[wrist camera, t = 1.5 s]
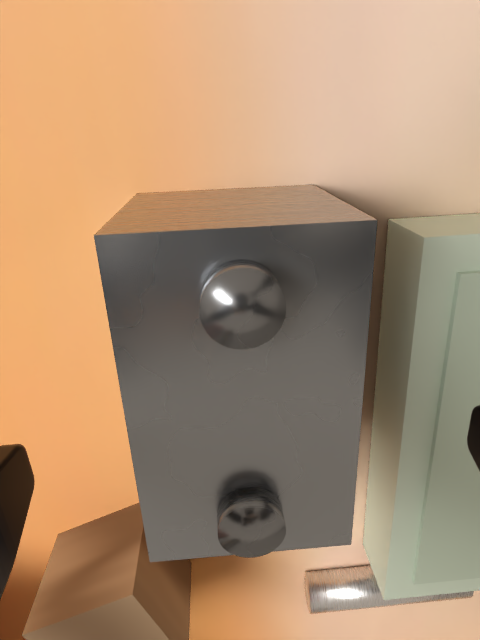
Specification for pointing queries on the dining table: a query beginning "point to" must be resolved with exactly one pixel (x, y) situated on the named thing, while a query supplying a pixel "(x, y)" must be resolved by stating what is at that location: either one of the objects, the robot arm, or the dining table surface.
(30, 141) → the dining table surface
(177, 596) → the walnut block
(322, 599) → the steel pin
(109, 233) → the block
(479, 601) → the dining table surface
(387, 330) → the pale green flat slab
